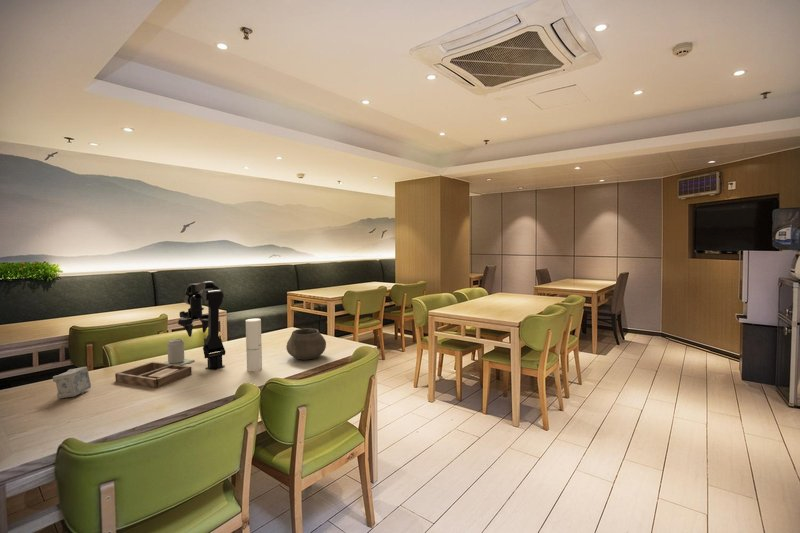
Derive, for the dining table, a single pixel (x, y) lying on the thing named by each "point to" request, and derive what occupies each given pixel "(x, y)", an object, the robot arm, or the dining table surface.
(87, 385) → the grey stone block
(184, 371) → the wooden divided tray
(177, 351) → the can
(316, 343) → the clay pot
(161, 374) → the offcut top
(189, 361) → the mat
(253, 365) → the cylindrical container
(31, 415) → the dining table surface
